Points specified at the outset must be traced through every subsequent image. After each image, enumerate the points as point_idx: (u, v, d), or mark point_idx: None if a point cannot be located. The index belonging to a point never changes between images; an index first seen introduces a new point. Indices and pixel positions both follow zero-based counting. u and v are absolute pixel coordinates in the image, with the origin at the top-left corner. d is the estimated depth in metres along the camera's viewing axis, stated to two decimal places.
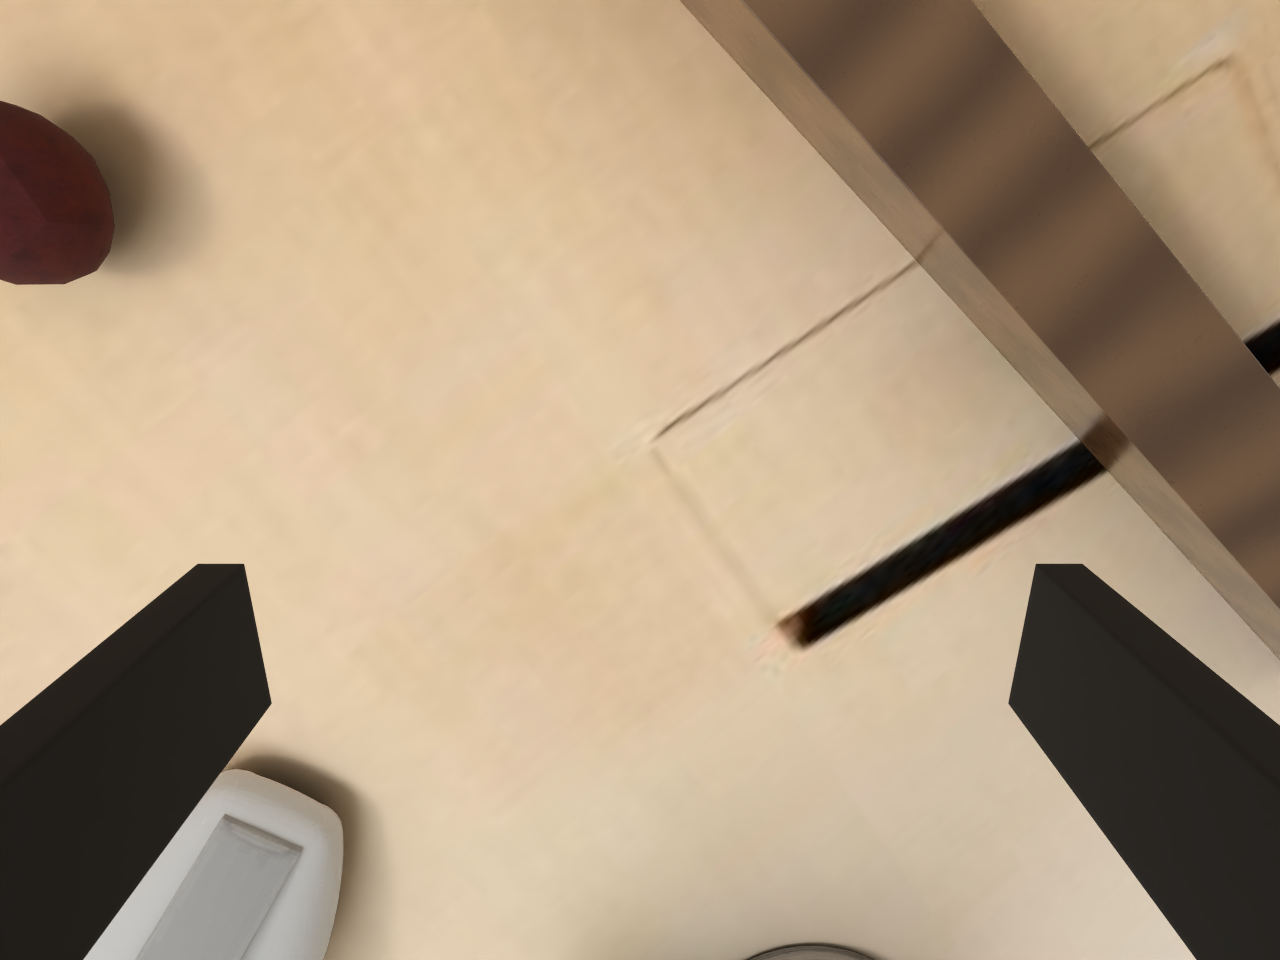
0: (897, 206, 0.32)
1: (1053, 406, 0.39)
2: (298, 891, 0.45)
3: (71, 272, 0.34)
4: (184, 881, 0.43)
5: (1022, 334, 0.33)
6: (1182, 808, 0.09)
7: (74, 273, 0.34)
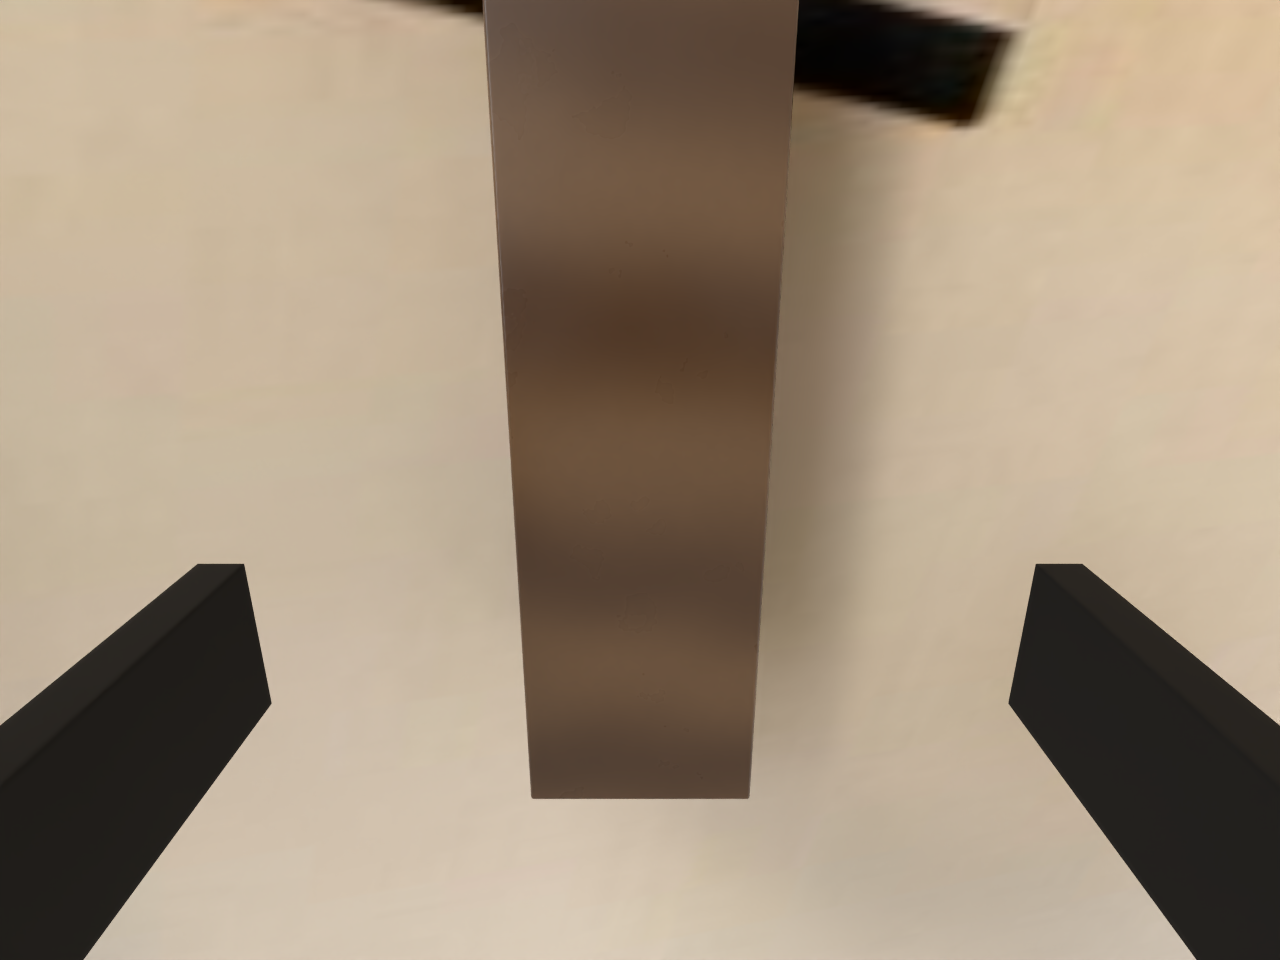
0: None
1: None
2: None
3: None
4: None
5: None
6: (1181, 808, 0.09)
7: None
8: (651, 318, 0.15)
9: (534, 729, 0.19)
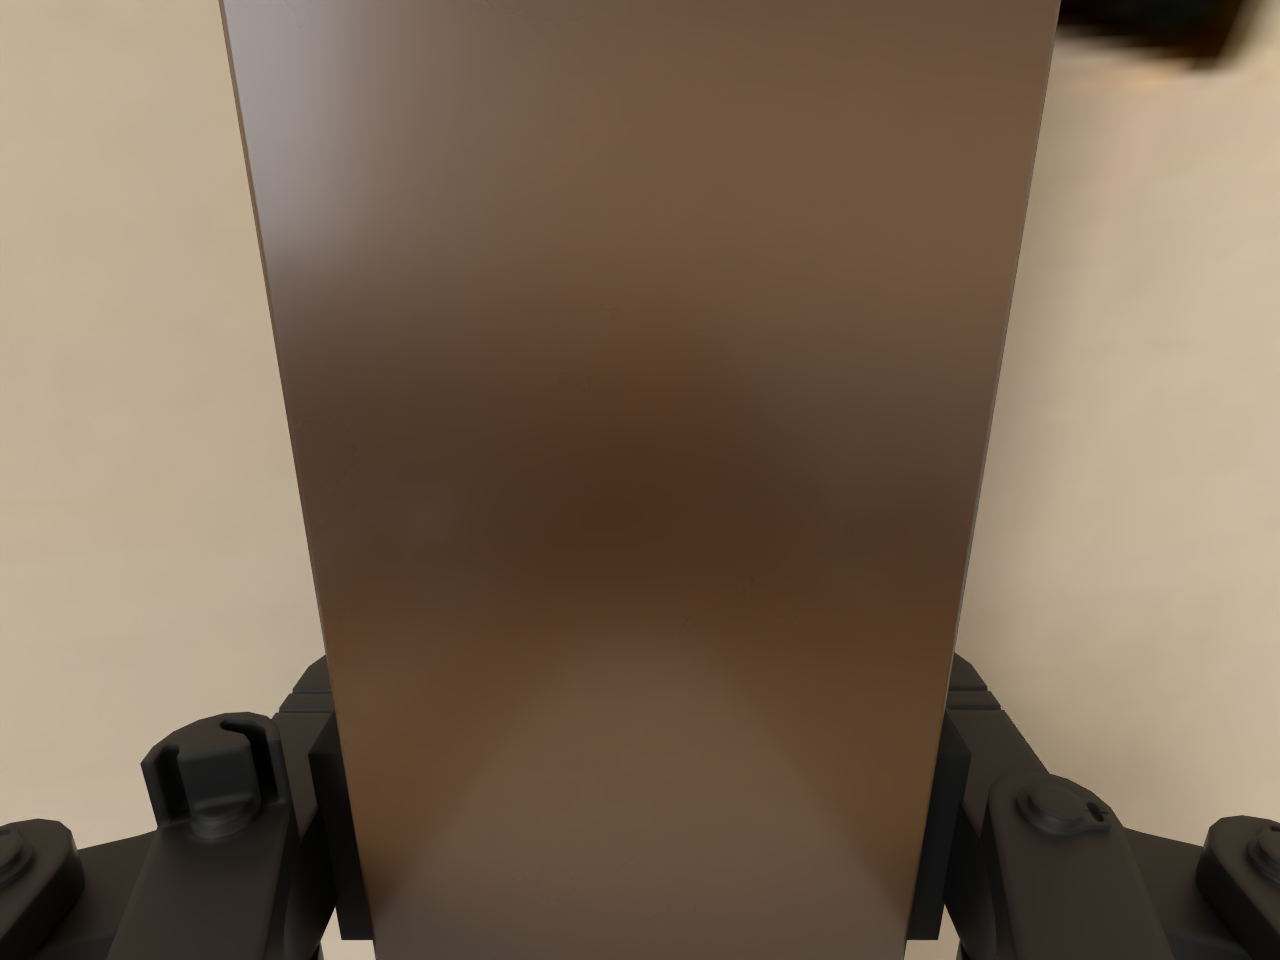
0: None
1: None
2: None
3: None
4: None
5: None
6: None
7: None
8: (667, 489, 0.06)
9: None
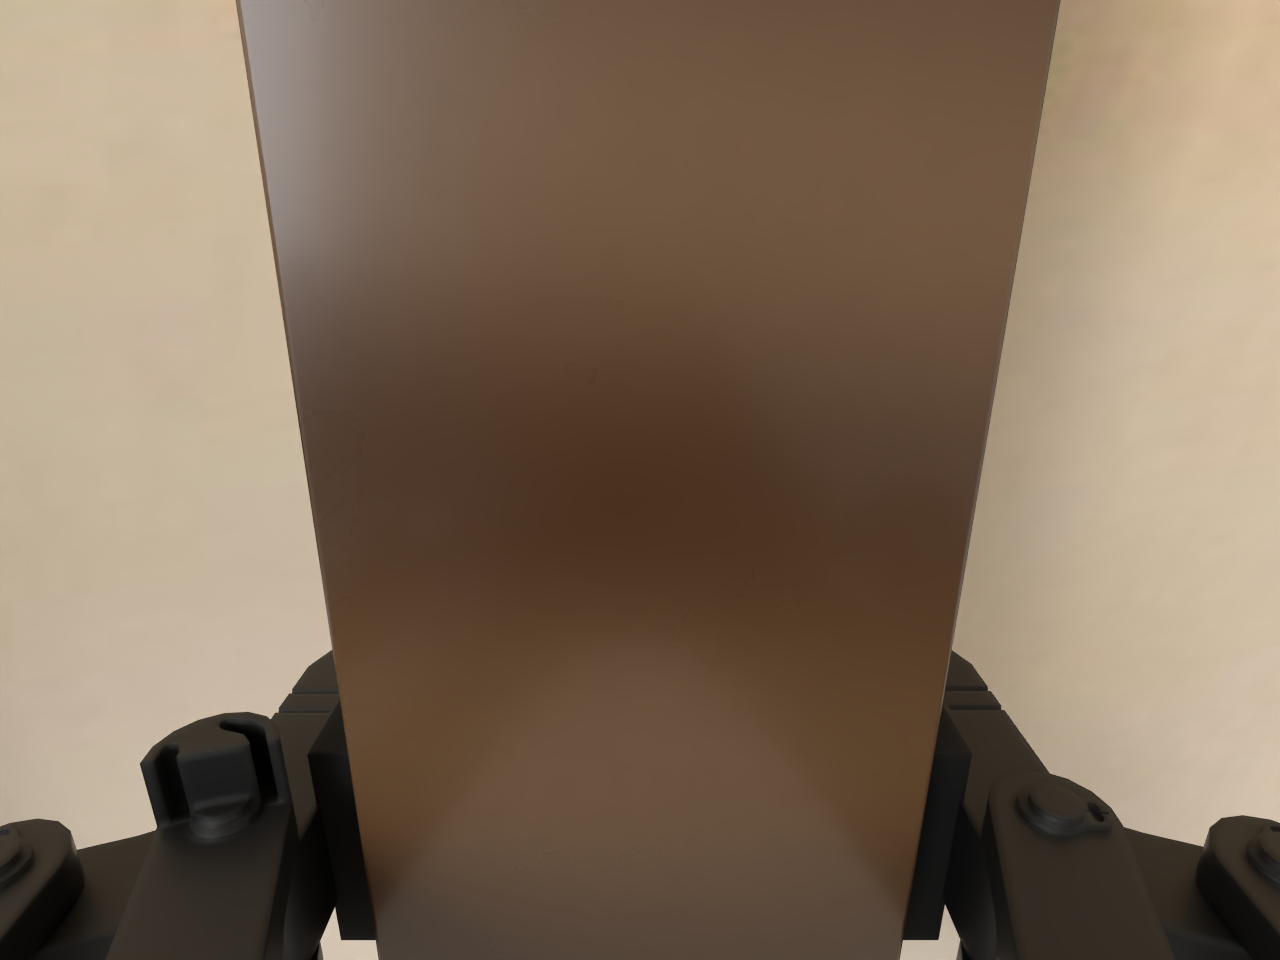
0: None
1: None
2: None
3: None
4: None
5: None
6: None
7: None
8: (671, 480, 0.06)
9: None
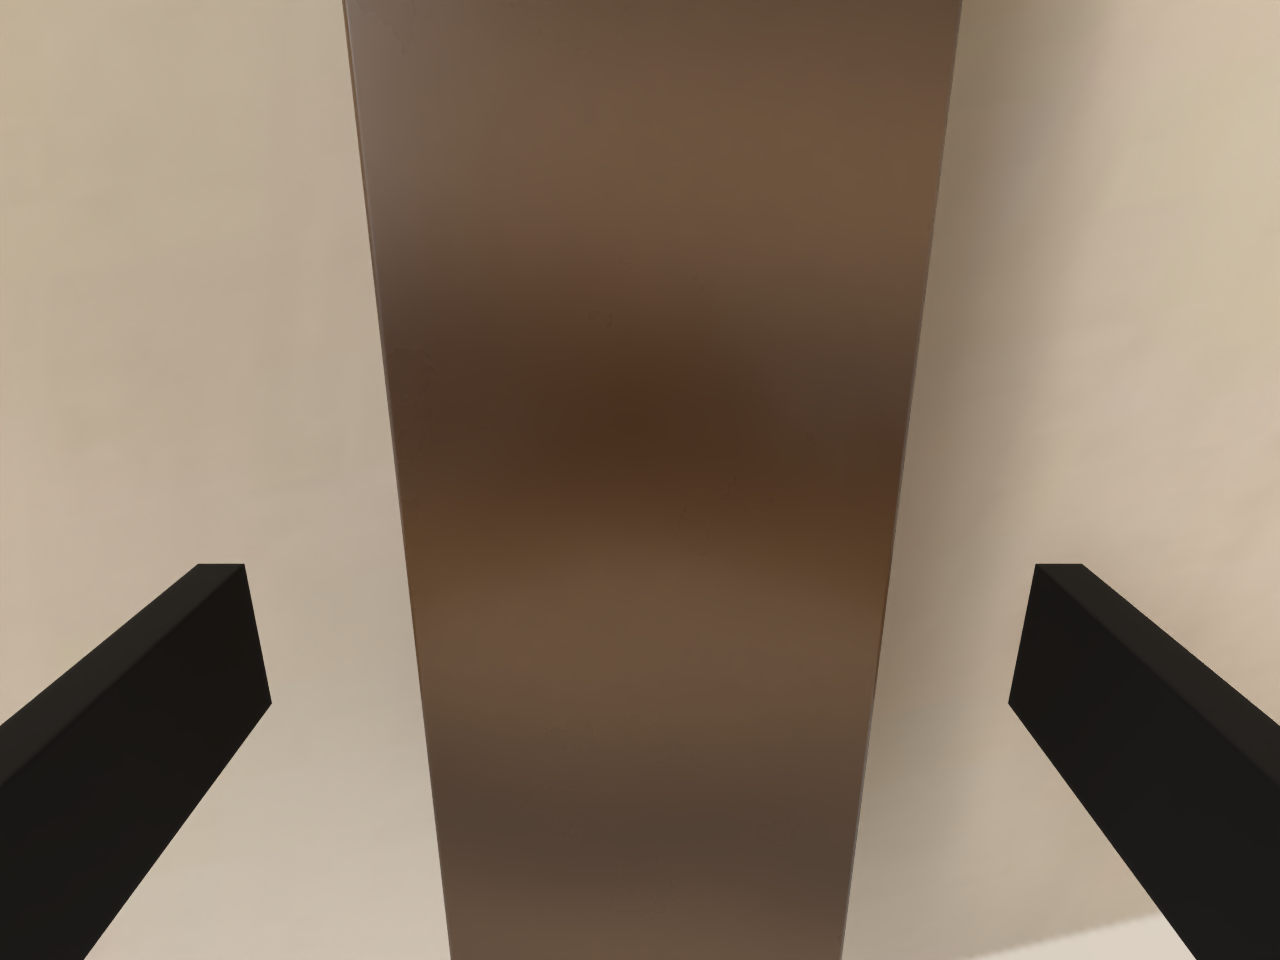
0: None
1: None
2: None
3: None
4: None
5: None
6: (1181, 808, 0.09)
7: None
8: (670, 404, 0.08)
9: None
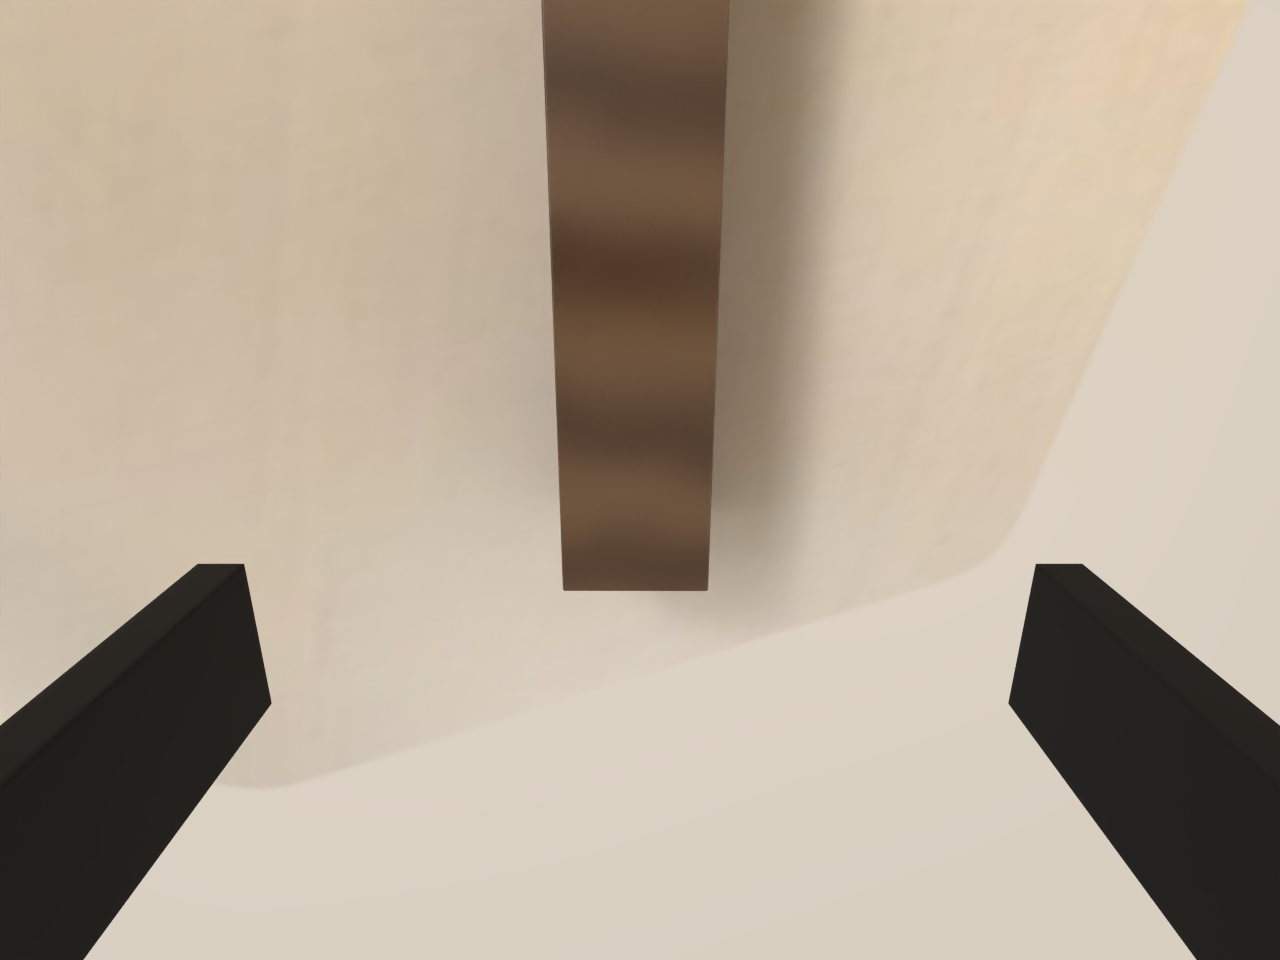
0: None
1: None
2: None
3: None
4: None
5: None
6: (1181, 808, 0.09)
7: None
8: (642, 264, 0.25)
9: (565, 539, 0.29)
